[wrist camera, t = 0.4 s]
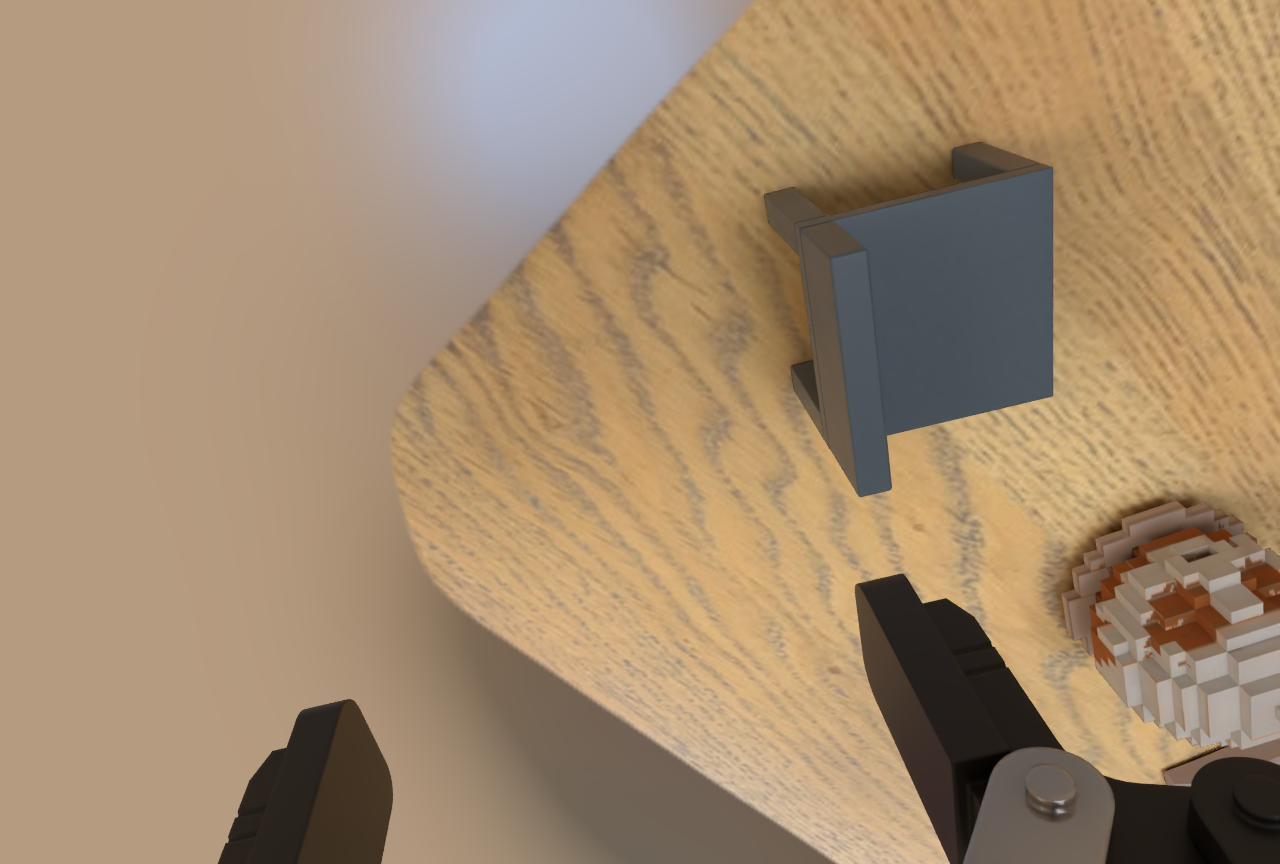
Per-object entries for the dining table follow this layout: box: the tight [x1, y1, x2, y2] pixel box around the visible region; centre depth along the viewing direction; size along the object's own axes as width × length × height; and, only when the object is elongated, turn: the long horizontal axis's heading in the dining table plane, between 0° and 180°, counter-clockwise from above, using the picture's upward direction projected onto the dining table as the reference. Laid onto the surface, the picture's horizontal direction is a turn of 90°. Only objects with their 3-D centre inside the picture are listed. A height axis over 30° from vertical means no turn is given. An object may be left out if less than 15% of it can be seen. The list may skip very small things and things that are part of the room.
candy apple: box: [1061, 501, 1280, 750], centre depth 31 cm, size 8×8×15 cm
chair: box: [764, 142, 1053, 497], centre depth 27 cm, size 7×7×8 cm
